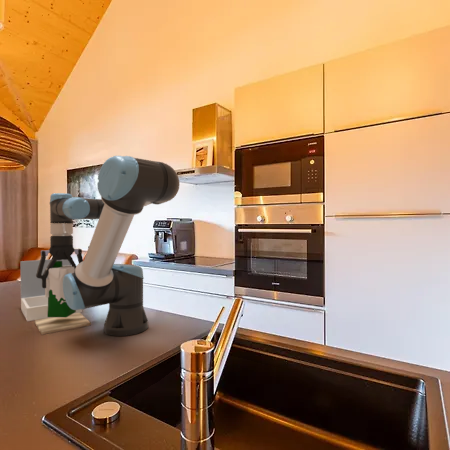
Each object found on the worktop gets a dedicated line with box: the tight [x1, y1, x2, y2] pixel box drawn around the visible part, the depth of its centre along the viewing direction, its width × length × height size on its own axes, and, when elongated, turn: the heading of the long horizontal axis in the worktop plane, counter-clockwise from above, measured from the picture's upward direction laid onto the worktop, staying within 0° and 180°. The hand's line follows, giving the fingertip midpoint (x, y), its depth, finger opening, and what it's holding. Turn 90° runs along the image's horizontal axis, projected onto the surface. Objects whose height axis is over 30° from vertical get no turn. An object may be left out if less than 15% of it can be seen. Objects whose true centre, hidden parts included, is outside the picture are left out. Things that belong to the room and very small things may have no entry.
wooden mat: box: [34, 312, 92, 335], centre depth 120 cm, size 16×16×1 cm
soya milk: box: [46, 261, 76, 318], centre depth 120 cm, size 9×9×20 cm
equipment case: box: [19, 258, 83, 322], centre depth 140 cm, size 27×20×21 cm
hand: (62, 294), depth 120 cm, fingers closed on soya milk, 9 cm apart
